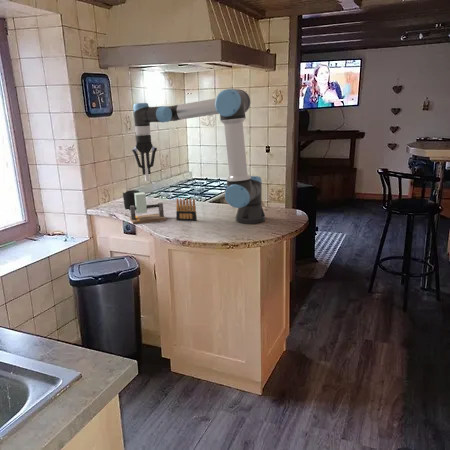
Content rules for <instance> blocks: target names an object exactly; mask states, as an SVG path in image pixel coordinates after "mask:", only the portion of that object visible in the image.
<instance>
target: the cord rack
mask: <svg viewBox="0 0 450 450" xmlns="http://www.w3.org/2000/svg"><path fill="white" fill-rule="evenodd" d="M146 207H147V209H153V208H158V213H152V214H142V215H136V210H137V207H135V206H134V205H133V206H130V210H129V211H130V216H129V219H130V221H131V222H132V224H133V225H138V224H147V223H155V222H163V221H167V218H166V217H165V213H164V203H163V202H157V203H156V204H146Z"/></svg>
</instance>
